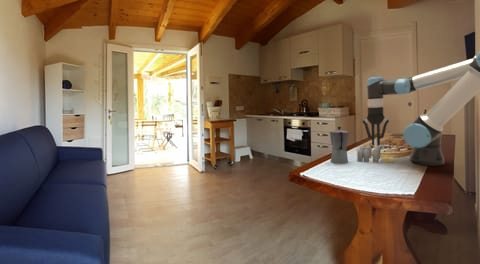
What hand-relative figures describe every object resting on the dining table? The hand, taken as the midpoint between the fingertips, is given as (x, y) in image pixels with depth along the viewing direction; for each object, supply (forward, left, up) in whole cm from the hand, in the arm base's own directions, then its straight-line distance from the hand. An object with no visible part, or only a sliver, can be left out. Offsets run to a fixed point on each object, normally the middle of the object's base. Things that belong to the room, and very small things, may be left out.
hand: (376, 151), depth 157 cm
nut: (-6, 0, -6) cm, 9 cm away
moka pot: (+17, +10, -6) cm, 20 cm away
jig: (+3, 0, -6) cm, 7 cm away
